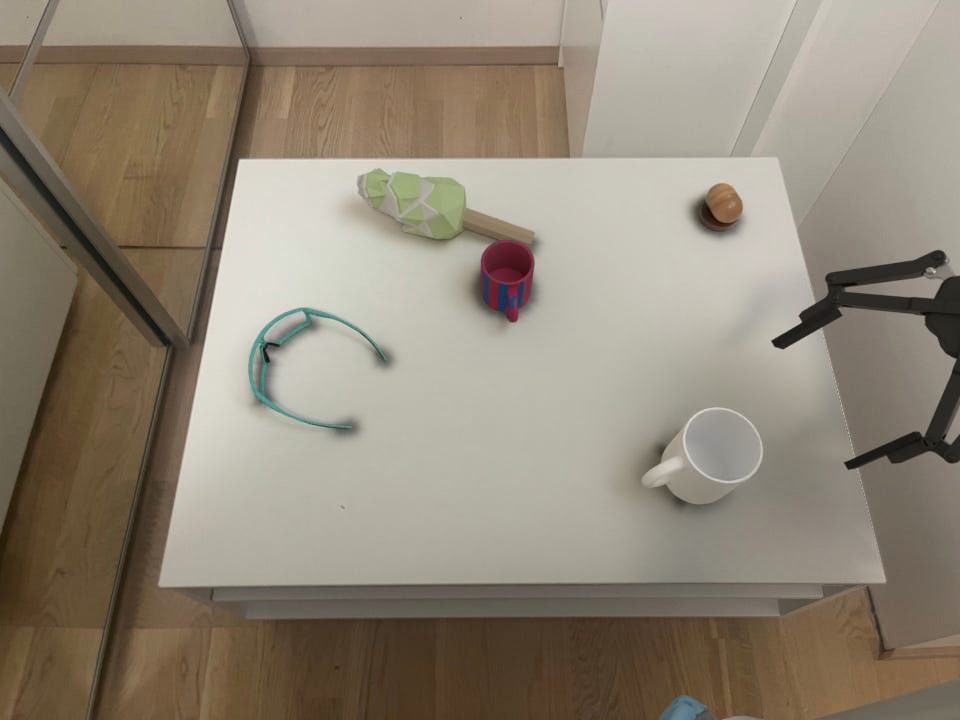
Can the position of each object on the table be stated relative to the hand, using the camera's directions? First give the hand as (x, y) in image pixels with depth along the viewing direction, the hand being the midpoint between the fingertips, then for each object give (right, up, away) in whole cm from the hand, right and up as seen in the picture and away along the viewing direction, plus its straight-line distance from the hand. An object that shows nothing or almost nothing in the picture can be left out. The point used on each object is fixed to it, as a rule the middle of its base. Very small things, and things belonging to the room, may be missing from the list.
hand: (811, 403), depth 66 cm
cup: (-30, +12, +22) cm, 39 cm away
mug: (-10, -9, +12) cm, 18 cm away
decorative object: (-38, +23, +27) cm, 52 cm away
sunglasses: (-53, +3, +18) cm, 56 cm away
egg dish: (+1, +25, +28) cm, 37 cm away
